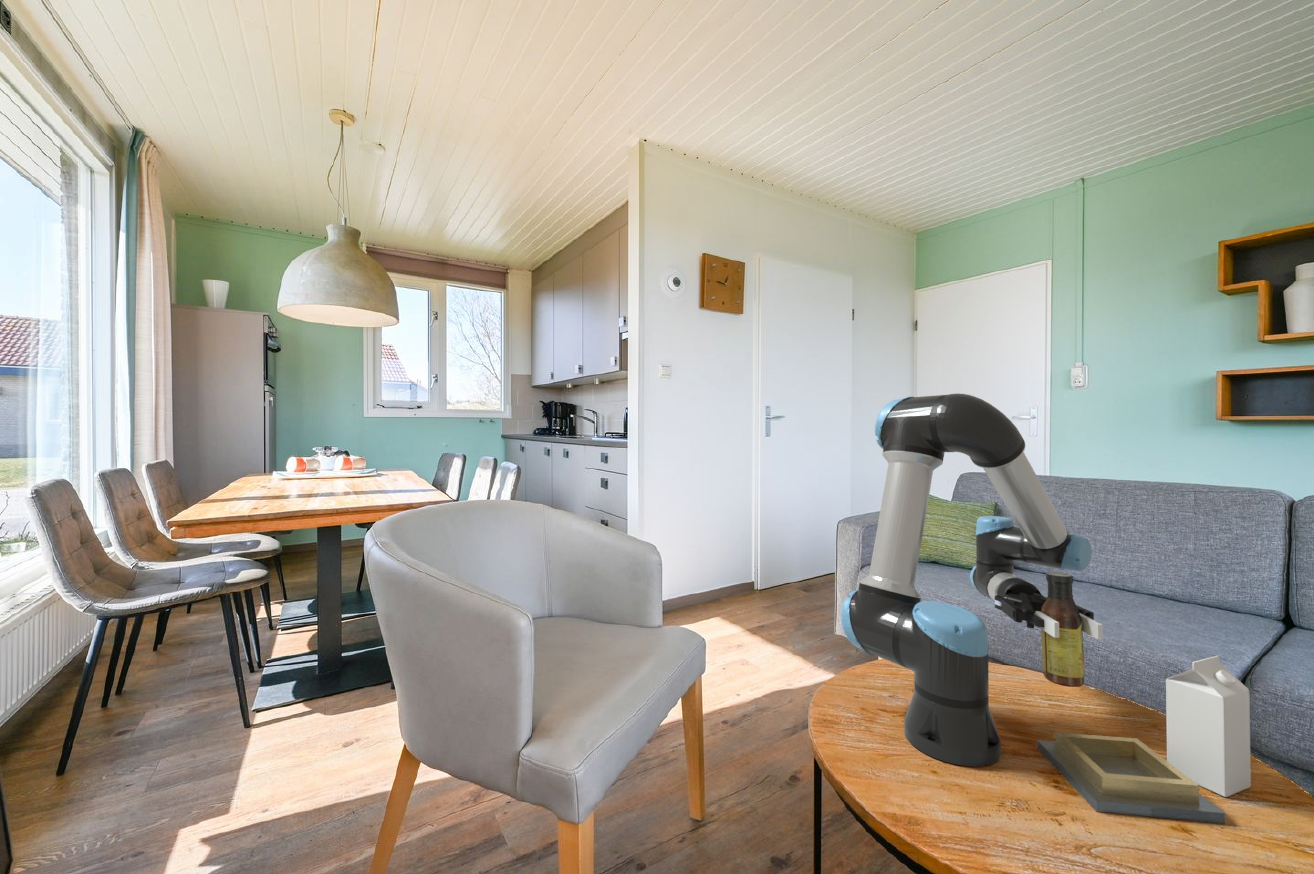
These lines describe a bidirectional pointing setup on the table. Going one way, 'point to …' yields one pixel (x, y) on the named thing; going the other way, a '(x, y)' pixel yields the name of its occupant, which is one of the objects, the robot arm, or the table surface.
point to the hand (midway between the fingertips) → (1078, 631)
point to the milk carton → (1209, 727)
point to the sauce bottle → (1063, 634)
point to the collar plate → (1127, 778)
